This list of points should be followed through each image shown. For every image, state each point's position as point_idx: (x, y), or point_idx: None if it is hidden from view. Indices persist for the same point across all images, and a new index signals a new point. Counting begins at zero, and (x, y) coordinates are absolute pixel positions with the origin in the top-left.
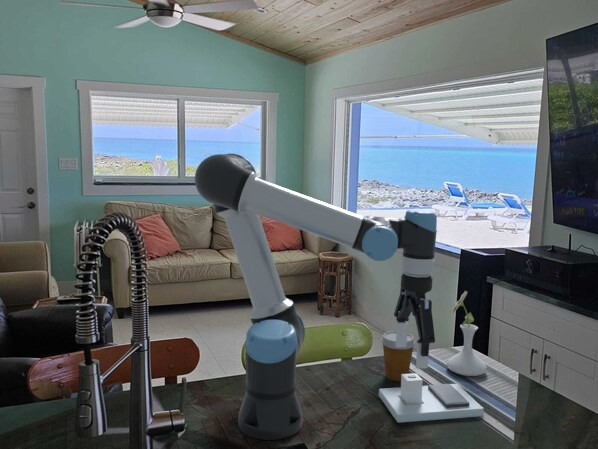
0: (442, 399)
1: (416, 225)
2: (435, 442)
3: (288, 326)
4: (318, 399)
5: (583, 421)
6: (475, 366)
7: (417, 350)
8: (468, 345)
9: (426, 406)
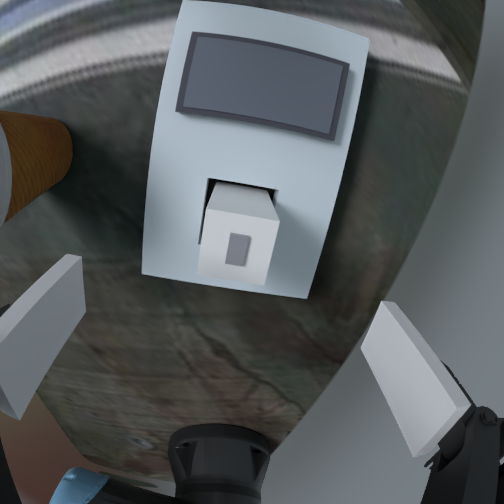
0: (298, 130)
1: None
2: (407, 250)
3: None
4: (146, 382)
5: None
6: None
7: (399, 413)
8: None
9: (297, 195)
